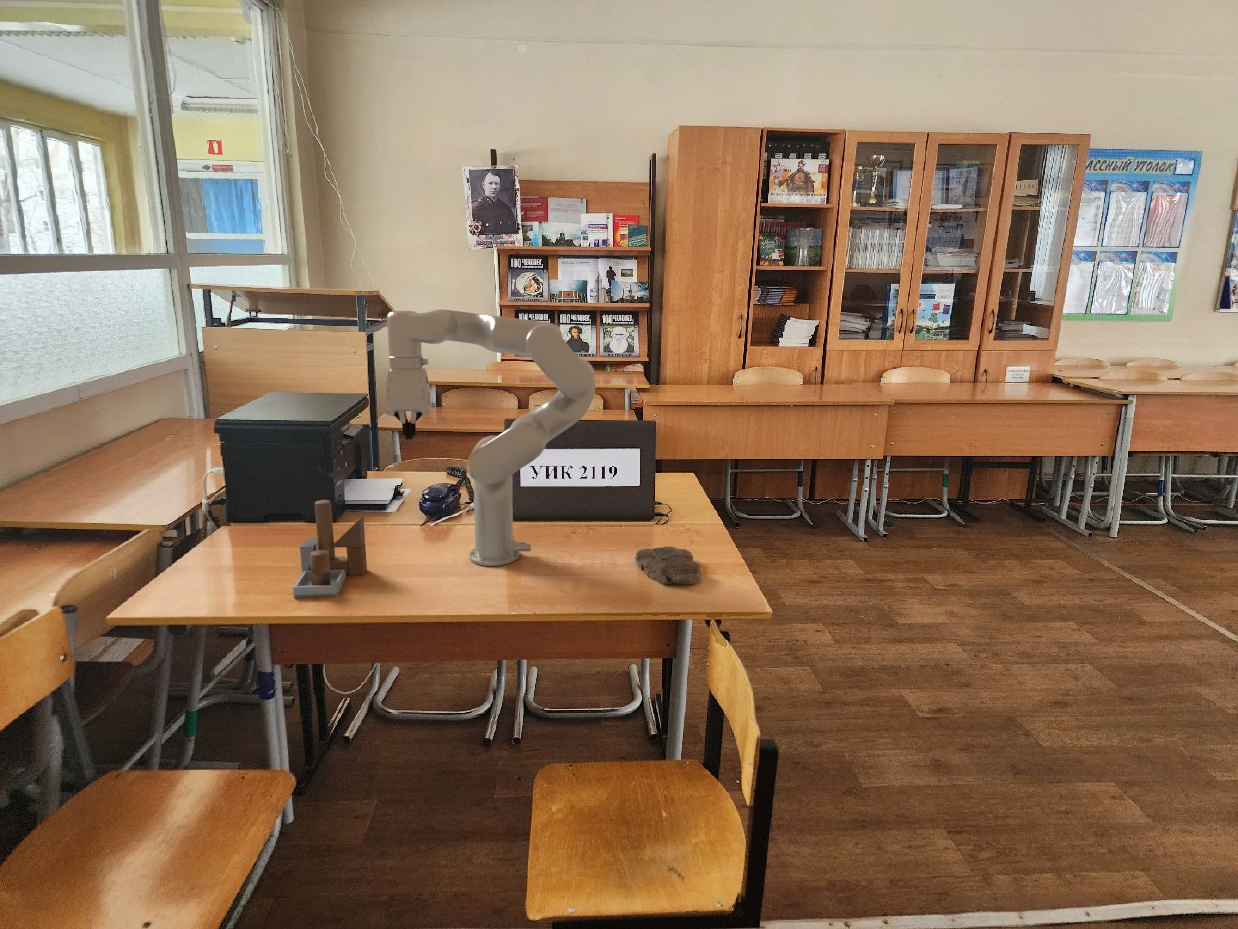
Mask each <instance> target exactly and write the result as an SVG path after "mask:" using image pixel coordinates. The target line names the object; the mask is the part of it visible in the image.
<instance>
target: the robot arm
mask: <svg viewBox="0 0 1238 929" xmlns="http://www.w3.org/2000/svg"><path fill="white" fill-rule="evenodd" d="M386 325H387V326H386V327H387V343H388V344H387V345H388V346H387V347H388V361H389V362H388V363H389V368H387V370H386V375H385V392H384V393H385V394H384V395H385V399H384V401H385V403H384V404H385V415H387V416H392V417H395V418H396V419H397V420H398V421H399V422H400V424H401V426H402V428H401V429H402V436H403V437H404V436H405V440H407V441H408V440H413V439H414V437H415V436H416V435H417V426H416V423H417V421H418V420H419V419H420V418H421V417H424V416H425V417H426V416H429V415H431V414H432V410H431V407H430V405H431V394H430V384H429V378H428V373H427V369H426V368H424V367H423V366H425V365H429V359H428V358H424V357H423V354H422V353H423V352H422V343H423V344H429V345H440V344H442V343H444V342H446V341H448V342H456V343H457V342H458V343H465V344H472V345H477V346H480V347H483V348H484V349H485V350H488V351H491V352H494V353H498V354H508V355H517V356H524V357H530V358H531V360H532V361H533V362H534V363H535V364H536V366H537V367H538V368H539V369H540V370H541V372H542V373H543V374H545V377H547V378H548V379H549V381H550V382H551V383H552V384H553V385H554V386H555V388H557V390H558V391H557V392H556V393H555V394H554V395H553V396H551V397H550V398H549V399H547V400H546V401H545V402H543V403H541V404H540V405H539V406H538V405H537V407H535V408H533V409H532V410H530V411H529V412H527V413H525V414H523V415H521V416H520V417H518V418H516V419H514V421H513V422H512V424H510V426H509V428H507V429H506V430H505V431H503V432H501V433H500V434H498V435H488V436H485V437H483V438H481V439H480V440H479V441H478V442H477V443H476V444H475V446H474V448H473V449H472V451H471V453H470V454H469V457H468V458H467V463H466V464H467V468H466V469H467V471H468V474H469V477H470V478H471V479H472V480H473V503H474V505H473V506H474V513H473V514H474V533H475V534H474V540H475V541H474V543H475V546H474V547H475V548H472V550H470V551H469V559H470V561H471V562H473V563H474V564H477V565H481V566H488V567H494V566H496V567H498V566H504V565H509V564H511V563H514V562H515V561H517V560H518V559H519V557H520V552H531V551H532V549H531V546H532V545H531V543H526V541H517V540H515V536H514V530H513V528H514V526H513V525H514V524H513V523H514V522H513V520H514V519H513V512H514V511H513V474H515V473H516V472H518V471H520V470H522V469H523V468H524V467H526V466H527V465H530V464H531V463H532V462H534V461H535V460H536V459H538V458H539V457H540V456H541V455H542V453H543V452H544V450H545V448H546V445H547V444H548V443H549V442H550V441H551V440H553V439H555V438H556V437H557V436H559V435H560V434H561V433H563V432H565V431H566V430H568V429H569V428H570V427H572V426H573V425H575V424H576V423H577V422H578V421H580V420H581V419H582V417H584V415H585V414H586V413H587V411H588V410H589V408H590V406H592V405H591V404H592V402H593V400H594V397H595V394H596V373H595V369H594V368H593V365H592V364H591V363H590V361H588V360H585V359H583V358H580V357H579V356H578V355H577V354H576V352H574V350H572V348H571V347H570V346H569V345H568V343H567V342H566V341H565V340H564V336H563V333H562V331H561V329H560V328H559V327H558V326H557V325H556V324H554V323H551V322H547V321H540V320H533V319H531V320H530V319H523V318H515V317H506V316H499V315H493V314H492V315H491V314H483V313H482V314H480V313H475V312H468V311H467V312H466V311H459V310H451V309H444V308H443V309H436V310H432V311H427V312H426V311H425V312H416V311H412V310H394V311H390V312H388V314H387V315H386ZM407 412H410V413H411V414H410V419H409V418H408V416H407Z"/></svg>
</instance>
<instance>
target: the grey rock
mask: <svg viewBox="0 0 1238 929" xmlns="http://www.w3.org/2000/svg"><path fill="white" fill-rule="evenodd" d="M634 560H635V561H636V563H637V566H638V567H639V568H640V569H641V570H643V571H644V573H645V574H646V576H647V577H648V578H649V579H650V580H652V581H656V582H658V583H659V584H662V585H672V586H673V585H696V584H697V583H698V581H700V579H701V578H702V572H701V568H702V567H701V565H700V564H699V563H698V562H695V561H694V555H693V553H692V552H691V551H690V550H688V549H687V548H678V547H675V546H662V547H661V546H660V547H654V548H645V549H641V550H637V552H636V554H635V557H634Z"/></svg>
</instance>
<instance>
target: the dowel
mask: <svg viewBox="0 0 1238 929" xmlns="http://www.w3.org/2000/svg"><path fill="white" fill-rule="evenodd" d="M310 563H311V582H312V586H318V585H330V564H329V552H328V551H326V550H316V551H313V552H311V553H310Z"/></svg>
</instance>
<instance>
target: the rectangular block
mask: <svg viewBox="0 0 1238 929" xmlns="http://www.w3.org/2000/svg"><path fill="white" fill-rule="evenodd" d="M299 550H300V551H299V552H300V562H301V575H302V574H303V572H304V571H311V563H310V553H311V552H313V551H316V550H319V549H318V538H317V536H316V537H306V538H305V540H303V542H302V543H301V545H300V546H299Z"/></svg>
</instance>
